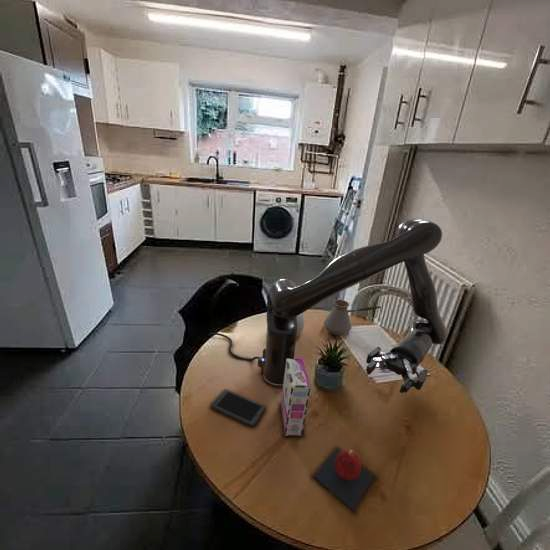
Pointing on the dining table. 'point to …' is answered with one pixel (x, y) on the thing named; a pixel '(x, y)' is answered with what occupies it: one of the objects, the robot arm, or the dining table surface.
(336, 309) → the coffee pot
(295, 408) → the candy bar box
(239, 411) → the cell phone
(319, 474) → the front mat
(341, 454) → the onion
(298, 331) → the decorative egg
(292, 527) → the dining table surface
